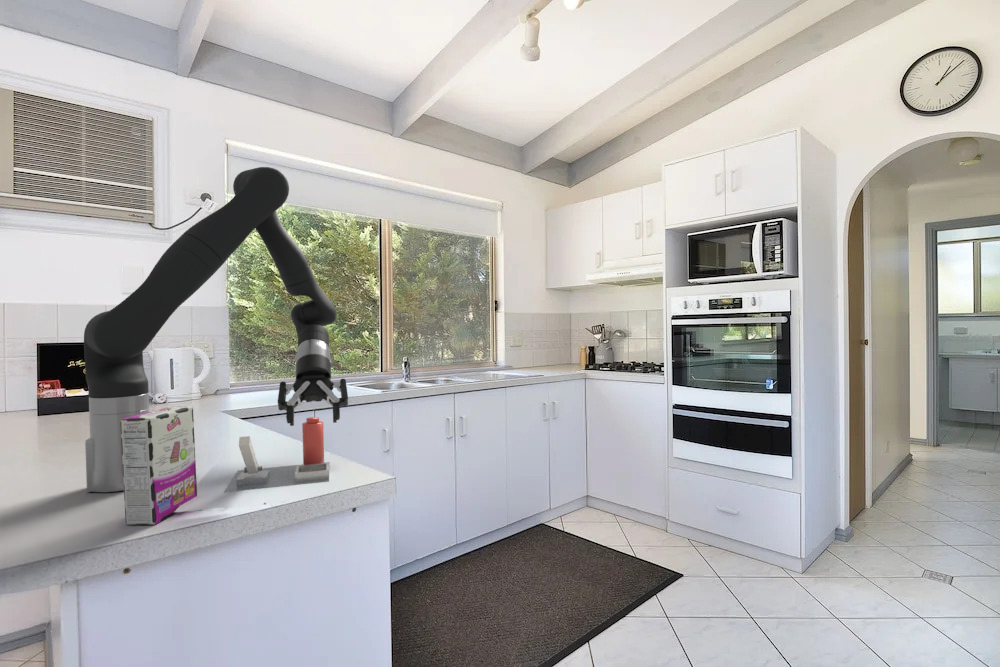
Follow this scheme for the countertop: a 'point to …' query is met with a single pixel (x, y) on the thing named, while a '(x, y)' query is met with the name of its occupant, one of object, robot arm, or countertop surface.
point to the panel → (280, 477)
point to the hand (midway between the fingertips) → (313, 422)
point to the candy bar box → (158, 463)
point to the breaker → (249, 455)
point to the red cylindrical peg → (313, 441)
